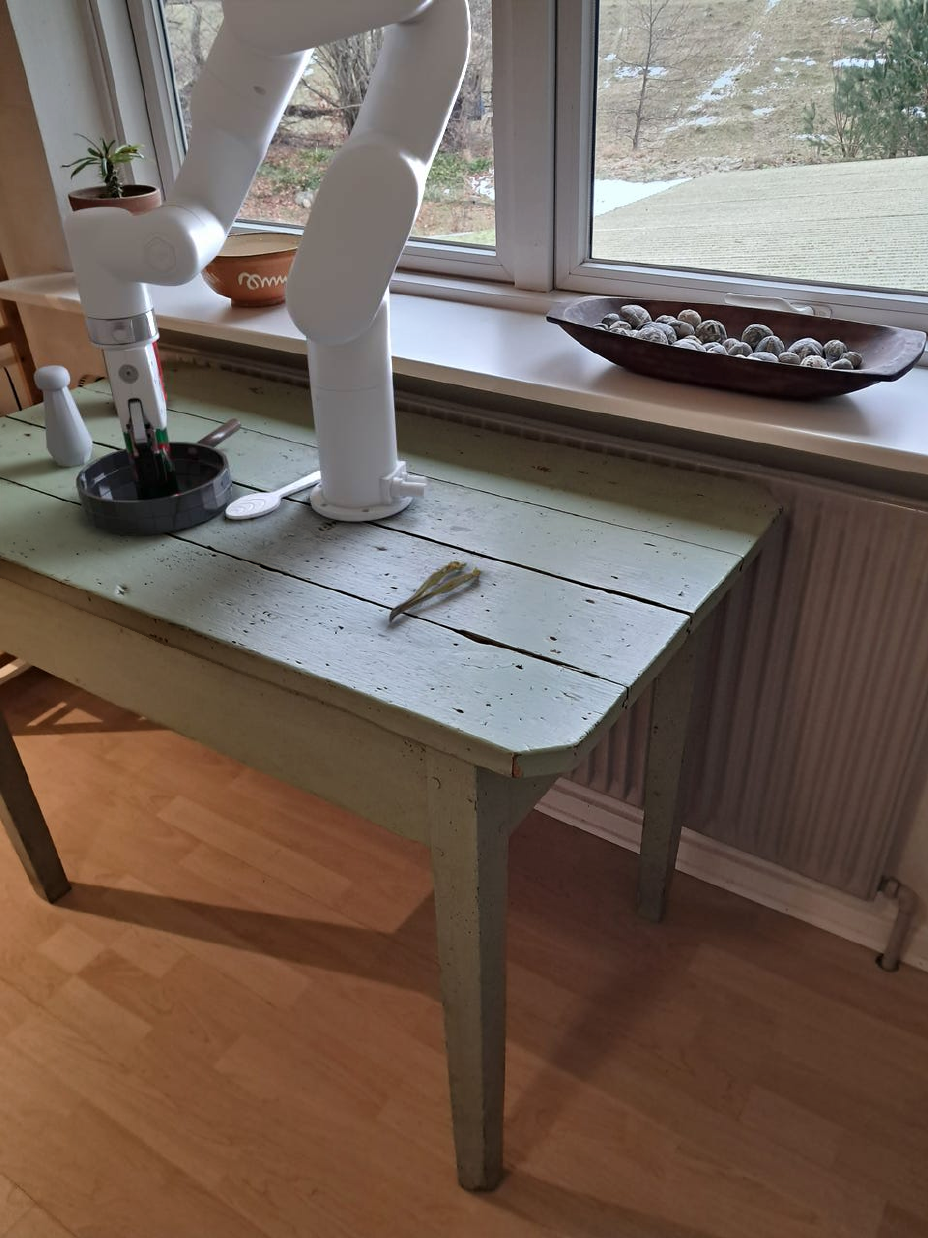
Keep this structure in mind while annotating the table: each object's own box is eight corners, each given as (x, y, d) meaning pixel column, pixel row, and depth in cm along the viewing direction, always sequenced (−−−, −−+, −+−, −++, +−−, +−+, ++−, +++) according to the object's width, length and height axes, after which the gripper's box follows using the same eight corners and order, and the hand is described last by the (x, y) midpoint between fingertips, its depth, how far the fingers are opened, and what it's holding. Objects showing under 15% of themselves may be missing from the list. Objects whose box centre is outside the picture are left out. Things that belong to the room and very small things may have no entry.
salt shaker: (103, 453, 134) (80, 361, 127) (85, 469, 130) (61, 375, 123) (63, 452, 135) (38, 360, 128) (44, 469, 130) (17, 375, 123)
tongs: (380, 619, 96) (379, 602, 95) (455, 570, 106) (455, 554, 104) (413, 632, 94) (413, 614, 93) (487, 581, 103) (487, 564, 102)
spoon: (352, 474, 126) (352, 470, 126) (243, 524, 115) (242, 520, 114) (325, 464, 129) (324, 460, 129) (215, 511, 118) (214, 507, 117)
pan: (259, 482, 125) (254, 450, 122) (181, 546, 111) (174, 510, 108) (142, 466, 130) (135, 435, 128) (53, 525, 116) (43, 491, 113)
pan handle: (244, 429, 134) (242, 417, 133) (197, 462, 125) (195, 449, 124) (232, 428, 135) (230, 415, 134) (186, 460, 126) (183, 447, 125)
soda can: (138, 495, 122) (117, 404, 115) (179, 489, 123) (161, 399, 116) (139, 512, 118) (117, 418, 111) (181, 506, 119) (163, 413, 112)
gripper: (156, 345, 102) (186, 500, 112) (157, 304, 116) (184, 446, 126) (82, 352, 101) (120, 509, 111) (92, 310, 115) (125, 453, 125)
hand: (154, 474), depth 118 cm, fingers closed on soda can, 5 cm apart
